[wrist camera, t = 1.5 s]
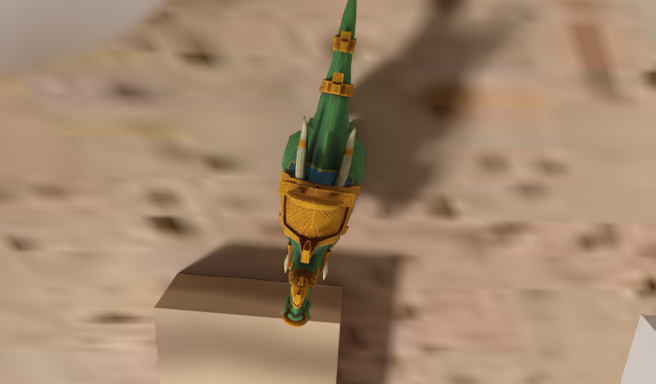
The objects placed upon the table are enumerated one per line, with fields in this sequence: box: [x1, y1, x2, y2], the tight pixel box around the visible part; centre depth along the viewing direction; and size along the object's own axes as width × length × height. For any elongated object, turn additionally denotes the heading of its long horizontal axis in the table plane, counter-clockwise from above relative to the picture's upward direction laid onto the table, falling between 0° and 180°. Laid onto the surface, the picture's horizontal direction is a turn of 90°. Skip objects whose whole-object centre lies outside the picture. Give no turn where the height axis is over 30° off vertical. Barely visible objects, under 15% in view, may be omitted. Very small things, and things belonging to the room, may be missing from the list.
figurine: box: [278, 0, 366, 327], centre depth 19 cm, size 3×12×8 cm, turn 170°
